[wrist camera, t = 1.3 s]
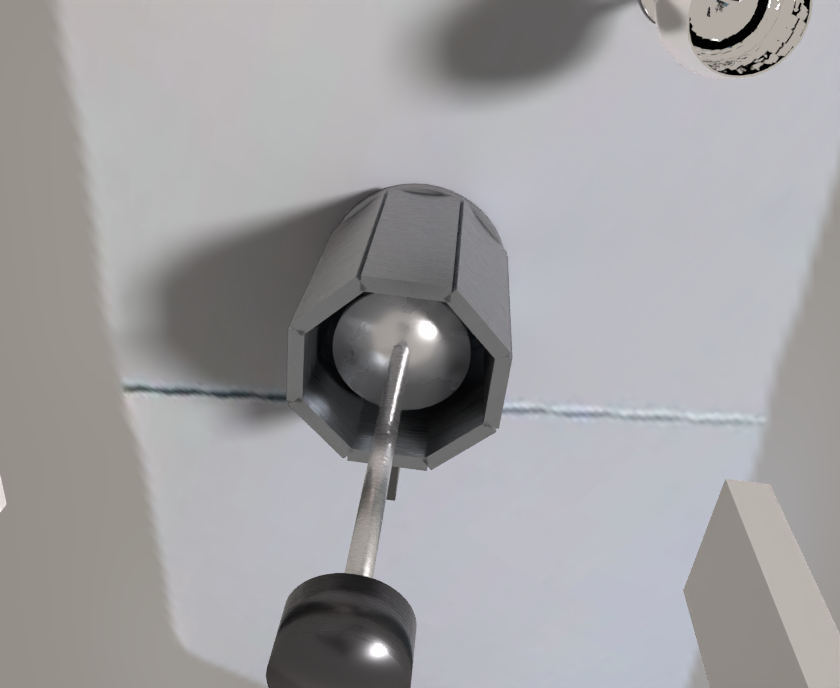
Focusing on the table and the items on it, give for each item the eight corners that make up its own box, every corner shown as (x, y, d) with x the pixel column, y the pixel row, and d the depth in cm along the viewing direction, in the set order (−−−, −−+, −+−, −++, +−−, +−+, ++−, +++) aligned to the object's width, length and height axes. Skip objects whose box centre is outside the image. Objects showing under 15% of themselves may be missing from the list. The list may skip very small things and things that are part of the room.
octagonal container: (333, 172, 47) (285, 261, 36) (519, 196, 47) (529, 292, 36) (323, 372, 55) (280, 497, 43) (485, 392, 54) (484, 524, 43)
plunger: (338, 275, 40) (217, 585, 22) (480, 293, 40) (471, 619, 22) (331, 392, 44) (223, 740, 26) (461, 409, 44) (441, 770, 26)
